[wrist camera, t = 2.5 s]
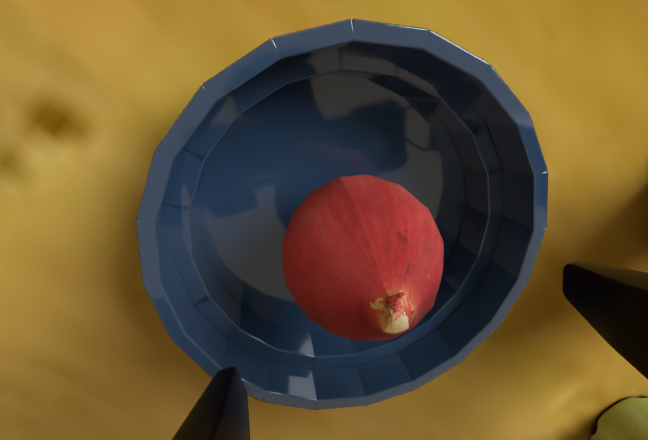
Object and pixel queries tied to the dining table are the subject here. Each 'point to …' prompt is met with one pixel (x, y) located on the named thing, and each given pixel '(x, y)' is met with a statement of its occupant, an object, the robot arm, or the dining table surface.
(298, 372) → the bowl
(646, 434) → the plant pot
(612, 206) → the dining table surface
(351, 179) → the onion
